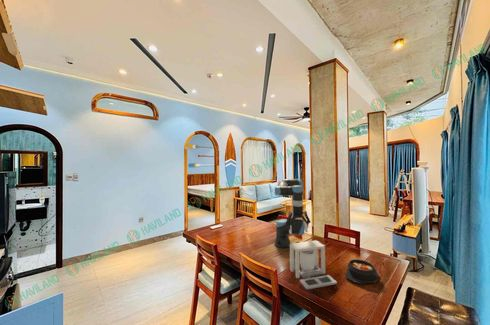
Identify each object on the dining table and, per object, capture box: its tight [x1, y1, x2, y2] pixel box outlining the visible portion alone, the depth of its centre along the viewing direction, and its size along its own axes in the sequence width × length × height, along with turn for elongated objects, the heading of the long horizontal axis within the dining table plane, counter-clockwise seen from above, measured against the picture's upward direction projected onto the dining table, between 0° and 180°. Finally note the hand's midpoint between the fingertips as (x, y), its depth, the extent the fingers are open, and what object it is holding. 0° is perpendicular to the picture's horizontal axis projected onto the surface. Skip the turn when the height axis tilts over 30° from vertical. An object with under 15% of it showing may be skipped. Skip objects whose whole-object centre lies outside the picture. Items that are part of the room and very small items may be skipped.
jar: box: [299, 250, 315, 272], centre depth 140 cm, size 11×10×15 cm
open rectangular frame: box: [289, 240, 338, 290], centre depth 134 cm, size 22×22×20 cm
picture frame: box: [288, 241, 324, 279], centre depth 143 cm, size 21×16×15 cm
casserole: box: [344, 259, 379, 285], centre depth 133 cm, size 25×19×8 cm
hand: (298, 232), depth 152 cm, fingers open, 13 cm apart
